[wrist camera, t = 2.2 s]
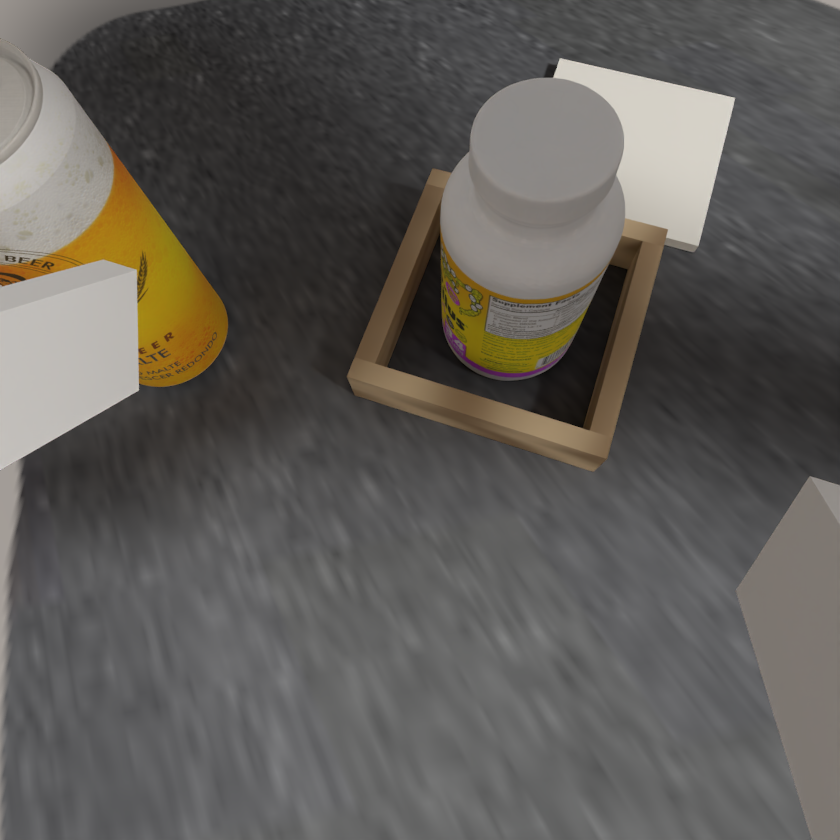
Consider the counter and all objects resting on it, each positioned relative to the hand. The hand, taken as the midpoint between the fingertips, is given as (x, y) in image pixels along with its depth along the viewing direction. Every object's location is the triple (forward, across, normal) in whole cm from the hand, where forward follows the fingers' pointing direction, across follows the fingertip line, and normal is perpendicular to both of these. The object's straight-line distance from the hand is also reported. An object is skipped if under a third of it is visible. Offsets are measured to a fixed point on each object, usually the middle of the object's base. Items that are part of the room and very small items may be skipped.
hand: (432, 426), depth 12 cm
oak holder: (+19, 0, -4) cm, 20 cm away
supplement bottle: (+20, 0, -4) cm, 20 cm away
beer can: (+16, -16, -8) cm, 24 cm away
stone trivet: (+28, +3, +5) cm, 28 cm away
